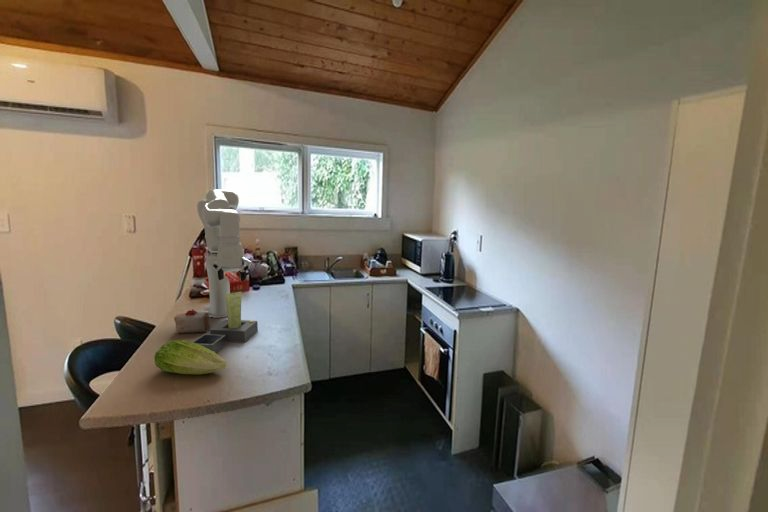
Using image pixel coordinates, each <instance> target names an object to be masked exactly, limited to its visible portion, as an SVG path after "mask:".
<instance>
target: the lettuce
mask: <svg viewBox="0 0 768 512" xmlns="http://www.w3.org/2000/svg"><path fill="white" fill-rule="evenodd" d="M154 364H155V366H156V367H157V368H158V369H160V370H162V371H163V372H165V373H166V372H167V373H174V374H180V375H205V374H211V373H216V372H218V371H222V370H223V369H225V368H226V367H227V361H226V360H225V359H224V358H223V357H222V356H220V355H219V354H217V352H216V353H215V352H213V351H211V350H209V349H207V348H206V347H204V346H202V345H199V344H196V343H193V342H192V341H188V340H183V339H175V340H171V341H167V342H165V343H164V344H163V345H162V346H161V347H160V348H158V350H157V351H156V352H155V354H154Z"/></svg>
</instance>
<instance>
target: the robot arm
mask: <svg viewBox="0 0 768 512" xmlns="http://www.w3.org/2000/svg"><path fill="white" fill-rule="evenodd" d="M239 199H240V198H239V196H238V194H237V192H236V191H234V190H231V189H212V190H209V191H208V192H207V193H206V195H205V199H201V200H199V201H198V202H197V205H196V208H197V214H198V217H199V219H200V221H201V223H202V226H203V227H204V234H205V235H204V236H205V241H206V242H205V244H206V247H207V250H208V251H209V252H211V253H215V254H210V255H209V256H207V257H206V259H205V267H206V270H207V276H208V287H209V290H208V291H209V305H204V306H203V311H207V312H208V313H209V318H211V317H213V318H214V319H218V318H219V319H222V318H226V317H227V318H228V314H227V305H226V298H225V294H231V288H230V285H231V284H230V279H229V278H228V277H227V276H226V275H225V274H224V273H232V272H239V271H240V272H239V273H240V274H239V277H240V282H244V281H245V280H246V279H247V271H248V270H249V268H250V267H251V265H252V263H253V262H252V261H251V260H249V259H248V258H246V257H245V254H244V248H243V244H242V243H241V239H240V238H241V233H240V232H241V231H240V222H241V216H240V215H241V214H240V213H239V212H238V211H237V208H238V207H239V203H240V202H239ZM245 263H246V265H245ZM221 317H222V318H221Z"/></svg>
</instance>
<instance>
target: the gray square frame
mask: <svg viewBox="0 0 768 512" xmlns="http://www.w3.org/2000/svg"><path fill="white" fill-rule="evenodd" d="M191 342H193V343H196V344H199V345H202V346H204V347H206V348H207V349H209V350H211V351H213V352H215V353H216V354H217V353H218V352H219V351H221V349H222V348H224V347H225V346H226V345H228V342H227V336H226V335H219V334H210V333H203V334H202V335H200V336H198V337H197V338H195V339H194V340H192V341H191Z"/></svg>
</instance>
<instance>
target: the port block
mask: <svg viewBox="0 0 768 512" xmlns="http://www.w3.org/2000/svg"><path fill="white" fill-rule="evenodd" d="M258 328H259V327H258V320H245V319H244V320H243V319H241V327H240V328H238V329H232V328H228V319H224V320H222V321H221V322H220V323H218V324H217V325H215V326H213V327H212V328H209V334H219V335H226V336H227V343H244V344H245V343H246V342H247V341H249V340H250V339H252V337H254V336H255V334H256V333H258V331H259V330H258Z"/></svg>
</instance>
